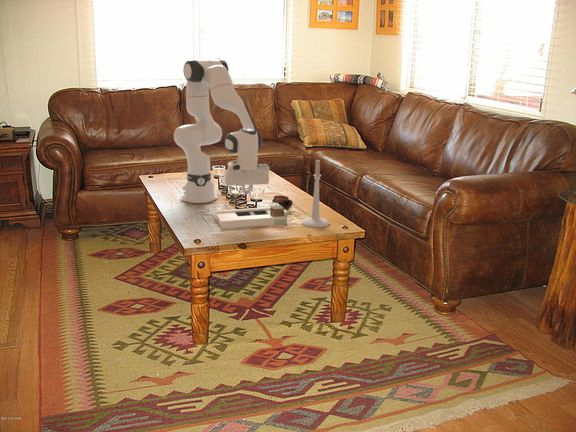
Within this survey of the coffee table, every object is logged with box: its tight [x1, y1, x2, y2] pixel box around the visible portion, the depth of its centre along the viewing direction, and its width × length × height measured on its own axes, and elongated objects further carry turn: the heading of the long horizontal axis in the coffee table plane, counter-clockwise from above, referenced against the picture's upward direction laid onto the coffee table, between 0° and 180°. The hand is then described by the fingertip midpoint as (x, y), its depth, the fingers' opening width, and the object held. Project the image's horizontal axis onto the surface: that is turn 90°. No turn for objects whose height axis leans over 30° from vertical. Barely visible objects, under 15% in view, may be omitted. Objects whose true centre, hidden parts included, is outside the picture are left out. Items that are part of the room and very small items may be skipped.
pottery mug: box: [271, 195, 294, 211], centre depth 303 cm, size 12×10×8 cm
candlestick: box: [300, 159, 330, 229], centre depth 280 cm, size 13×13×30 cm
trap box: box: [214, 202, 288, 230], centre depth 284 cm, size 16×30×6 cm, turn 107°
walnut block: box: [270, 205, 284, 217], centre depth 284 cm, size 5×5×4 cm
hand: (246, 193), depth 283 cm, fingers closed
